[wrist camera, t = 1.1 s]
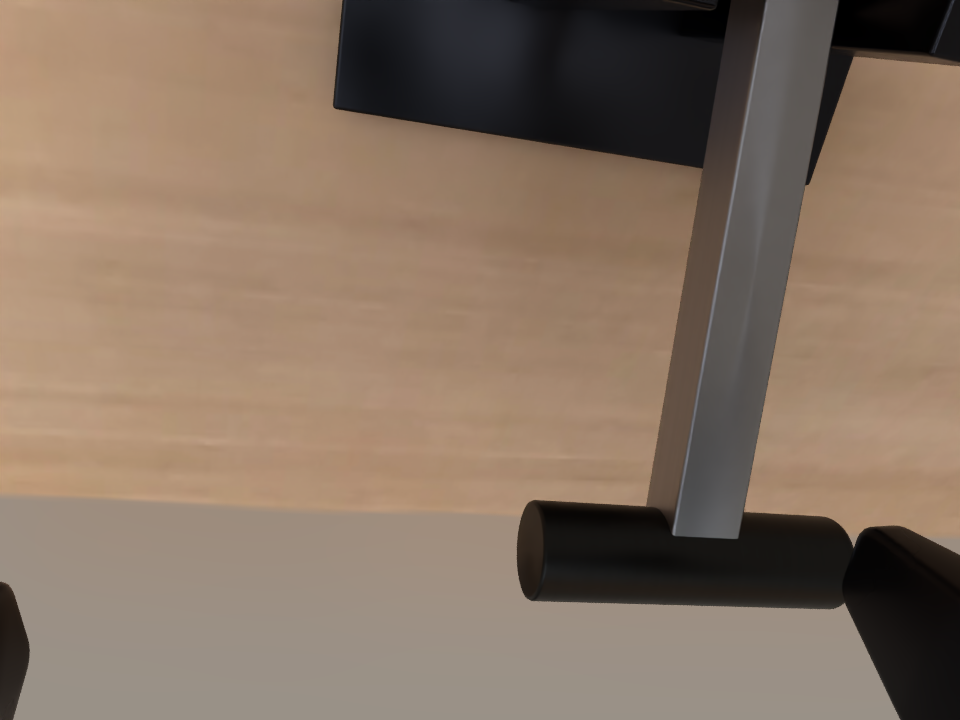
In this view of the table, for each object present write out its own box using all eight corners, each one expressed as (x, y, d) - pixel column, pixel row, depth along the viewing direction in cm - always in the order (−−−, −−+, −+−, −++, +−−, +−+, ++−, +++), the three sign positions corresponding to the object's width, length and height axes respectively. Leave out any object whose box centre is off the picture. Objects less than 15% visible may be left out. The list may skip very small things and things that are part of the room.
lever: (775, 571, 13) (869, 643, 11) (504, 560, 12) (545, 638, 10) (922, -168, 12) (1071, -269, 9) (618, -255, 10) (700, -393, 8)
